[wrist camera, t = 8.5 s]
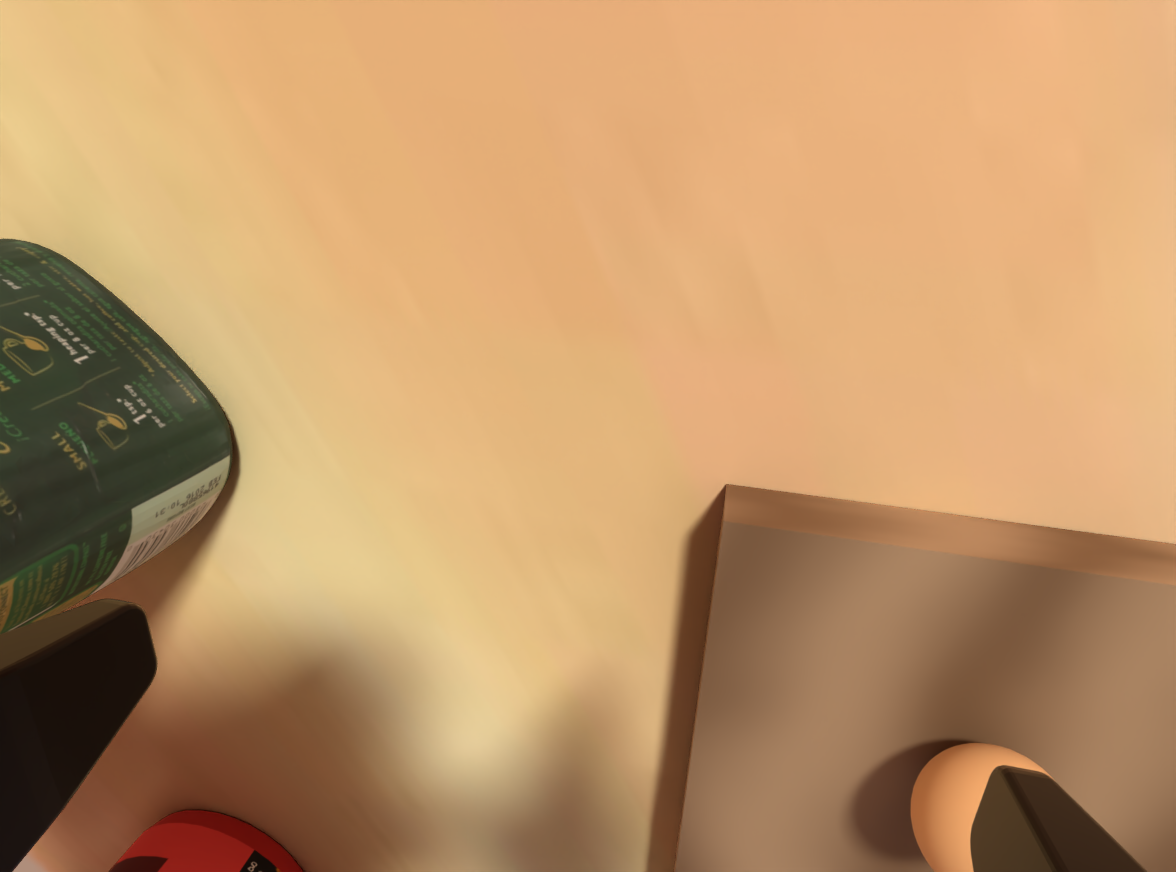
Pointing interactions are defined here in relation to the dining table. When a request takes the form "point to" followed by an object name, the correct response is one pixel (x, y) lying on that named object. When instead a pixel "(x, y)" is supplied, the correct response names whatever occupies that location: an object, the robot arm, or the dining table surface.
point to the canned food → (204, 847)
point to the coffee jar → (91, 437)
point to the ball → (955, 800)
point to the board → (920, 679)
